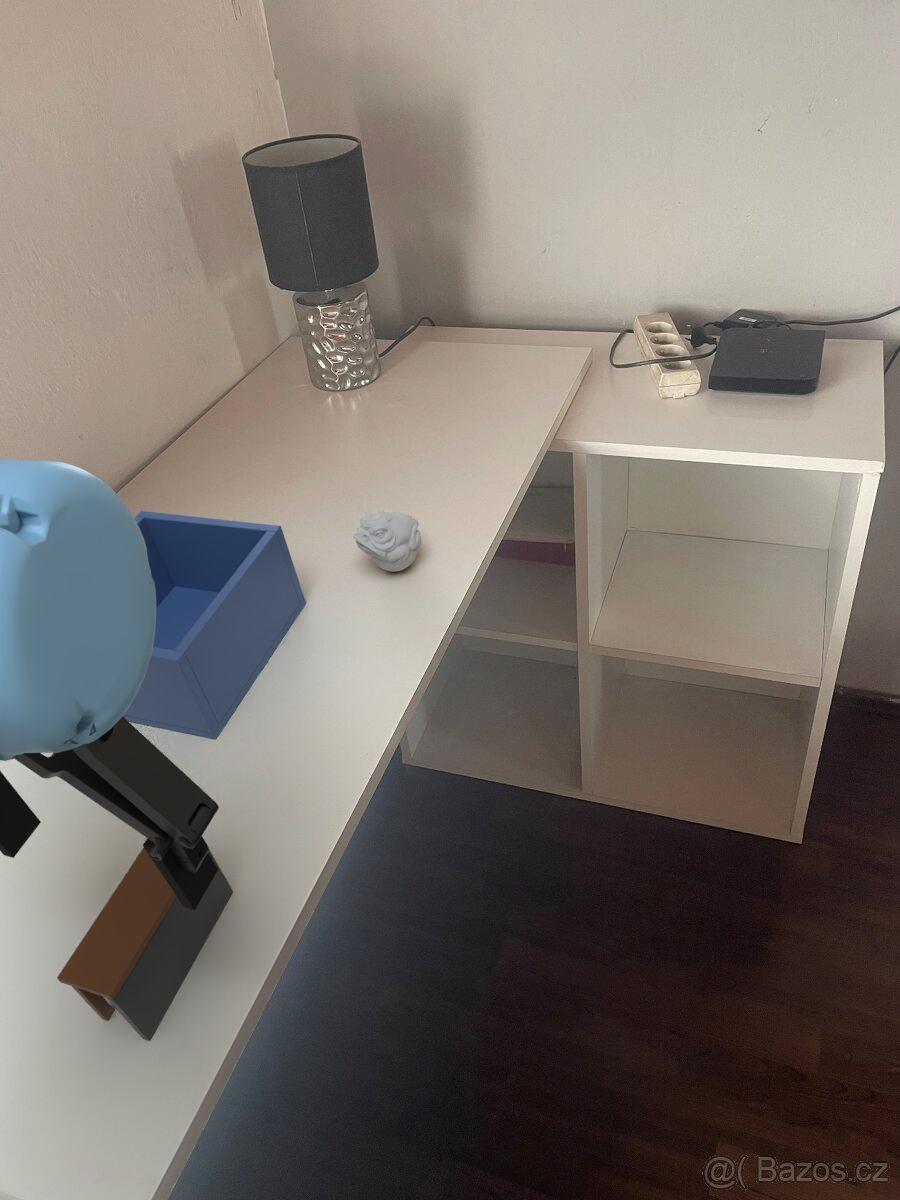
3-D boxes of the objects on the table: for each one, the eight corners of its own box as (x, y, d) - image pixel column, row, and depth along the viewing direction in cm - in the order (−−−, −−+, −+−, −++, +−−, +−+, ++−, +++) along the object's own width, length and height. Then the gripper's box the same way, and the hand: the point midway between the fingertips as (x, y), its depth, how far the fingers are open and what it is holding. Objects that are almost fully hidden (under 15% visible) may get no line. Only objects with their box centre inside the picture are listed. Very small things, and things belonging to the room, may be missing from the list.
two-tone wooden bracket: (233, 891, 64) (205, 840, 59) (149, 1041, 56) (110, 996, 52) (187, 878, 65) (155, 828, 61) (99, 1023, 57) (56, 978, 53)
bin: (215, 739, 75) (177, 660, 69) (69, 709, 80) (21, 633, 74) (306, 603, 87) (281, 525, 81) (174, 584, 93) (141, 510, 86)
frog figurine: (352, 568, 91) (337, 514, 86) (408, 539, 93) (396, 485, 88) (381, 596, 87) (367, 541, 82) (439, 565, 89) (429, 510, 84)
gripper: (196, 589, 38) (314, 854, 52) (-199, 533, 46) (-5, 774, 60) (93, 720, 33) (254, 974, 47) (-332, 630, 41) (-86, 869, 55)
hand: (108, 862), depth 53 cm, fingers open, 13 cm apart
